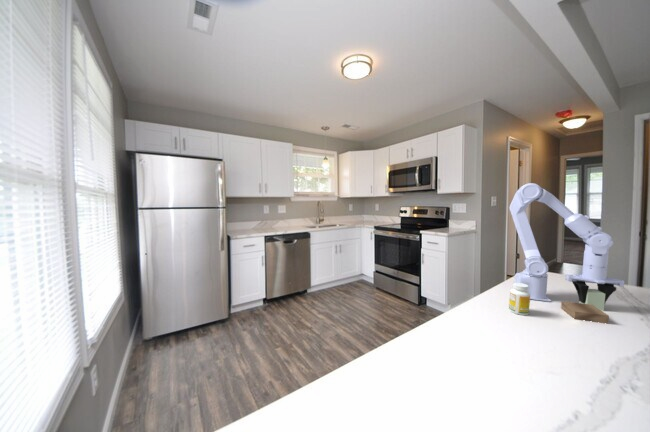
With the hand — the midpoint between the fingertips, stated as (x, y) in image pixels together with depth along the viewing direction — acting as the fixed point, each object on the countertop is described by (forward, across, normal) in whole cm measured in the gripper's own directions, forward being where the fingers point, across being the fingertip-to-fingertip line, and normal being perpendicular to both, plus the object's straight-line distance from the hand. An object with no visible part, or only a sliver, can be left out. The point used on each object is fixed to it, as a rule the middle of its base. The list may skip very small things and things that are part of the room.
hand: (591, 303), depth 86 cm
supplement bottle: (+2, -25, -13) cm, 28 cm away
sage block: (+2, 0, 0) cm, 2 cm away
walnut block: (+2, -6, -9) cm, 11 cm away
